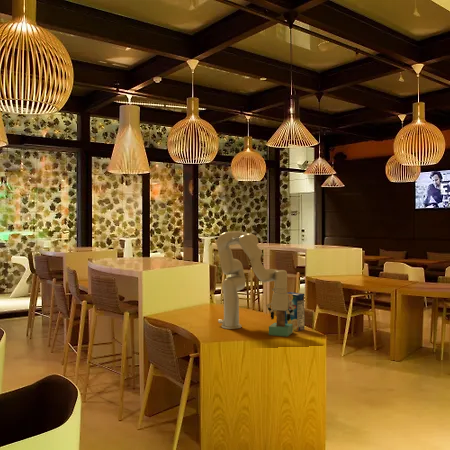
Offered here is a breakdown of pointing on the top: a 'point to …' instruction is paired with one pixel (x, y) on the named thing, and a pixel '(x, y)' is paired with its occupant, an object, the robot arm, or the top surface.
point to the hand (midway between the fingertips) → (280, 319)
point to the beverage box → (296, 311)
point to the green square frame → (280, 330)
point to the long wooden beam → (280, 318)
